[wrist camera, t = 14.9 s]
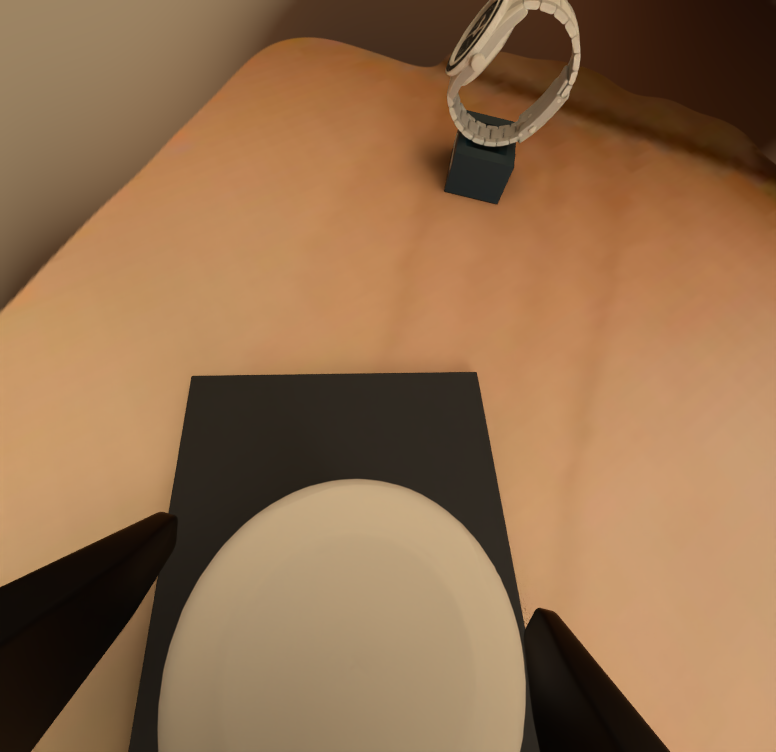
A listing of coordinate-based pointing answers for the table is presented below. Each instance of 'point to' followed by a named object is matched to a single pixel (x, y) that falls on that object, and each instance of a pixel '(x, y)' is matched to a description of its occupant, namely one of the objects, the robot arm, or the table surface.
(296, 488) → the desk mat
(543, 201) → the table surface
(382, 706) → the sprinkles bottle
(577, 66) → the watch
